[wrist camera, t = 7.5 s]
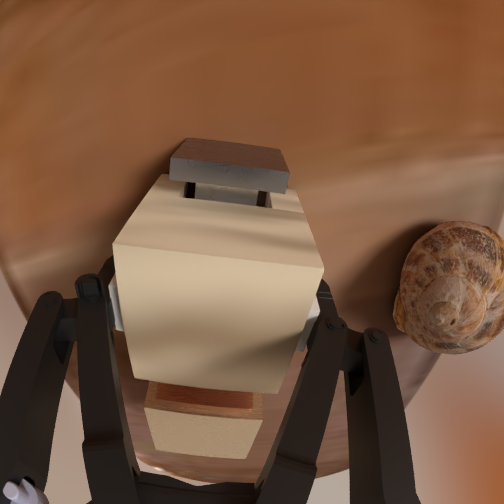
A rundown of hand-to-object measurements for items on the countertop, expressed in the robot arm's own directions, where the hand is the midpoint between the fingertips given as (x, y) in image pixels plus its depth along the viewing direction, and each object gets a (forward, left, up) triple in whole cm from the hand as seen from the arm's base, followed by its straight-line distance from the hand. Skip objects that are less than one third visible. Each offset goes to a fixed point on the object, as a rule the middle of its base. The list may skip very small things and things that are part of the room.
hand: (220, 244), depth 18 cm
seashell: (+1, +16, -1) cm, 16 cm away
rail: (+6, 0, -1) cm, 6 cm away
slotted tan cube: (0, 0, 0) cm, 0 cm away
